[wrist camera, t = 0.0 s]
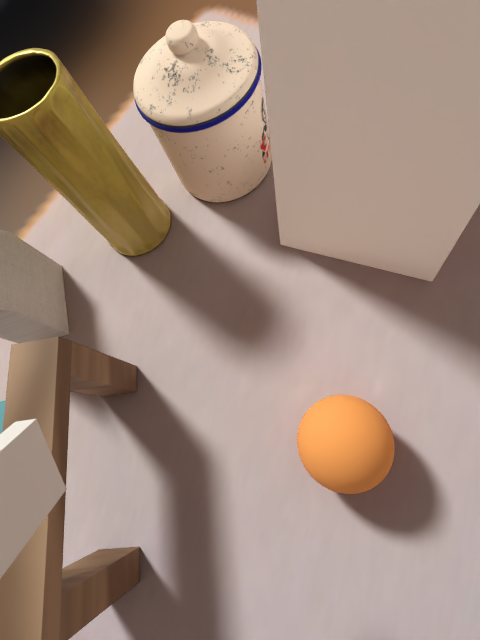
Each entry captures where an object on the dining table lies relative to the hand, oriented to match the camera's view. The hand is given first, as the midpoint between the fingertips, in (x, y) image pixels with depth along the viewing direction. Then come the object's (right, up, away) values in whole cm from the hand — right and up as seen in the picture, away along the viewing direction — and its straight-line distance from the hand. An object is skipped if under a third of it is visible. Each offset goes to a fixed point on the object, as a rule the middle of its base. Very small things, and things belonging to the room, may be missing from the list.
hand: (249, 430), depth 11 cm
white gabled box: (-17, +4, +22) cm, 28 cm away
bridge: (-9, -8, +16) cm, 20 cm away
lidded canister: (-2, +19, +23) cm, 30 cm away
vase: (-9, +12, +22) cm, 27 cm away
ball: (+6, -4, +11) cm, 13 cm away
